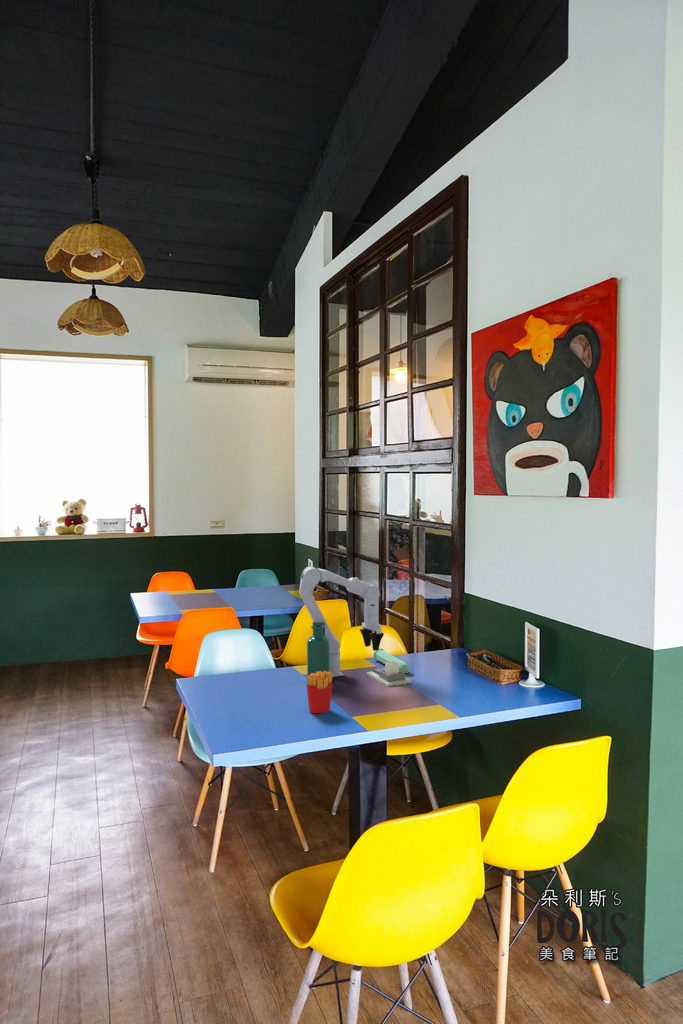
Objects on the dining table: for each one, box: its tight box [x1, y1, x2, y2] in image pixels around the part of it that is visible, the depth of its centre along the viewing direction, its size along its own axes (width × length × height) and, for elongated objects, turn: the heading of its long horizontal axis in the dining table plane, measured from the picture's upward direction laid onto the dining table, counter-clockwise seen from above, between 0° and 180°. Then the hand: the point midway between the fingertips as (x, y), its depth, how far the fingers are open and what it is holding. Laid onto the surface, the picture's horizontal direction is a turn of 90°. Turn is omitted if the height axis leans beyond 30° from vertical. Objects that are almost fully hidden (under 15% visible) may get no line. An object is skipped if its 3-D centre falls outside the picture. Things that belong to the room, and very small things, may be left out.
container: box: [372, 647, 410, 674], centre depth 284 cm, size 6×6×25 cm
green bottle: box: [306, 621, 330, 684], centre depth 263 cm, size 10×8×22 cm
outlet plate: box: [366, 667, 412, 687], centre depth 267 cm, size 10×18×3 cm, turn 23°
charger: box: [384, 661, 399, 675], centre depth 264 cm, size 4×4×6 cm
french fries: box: [306, 671, 334, 714], centre depth 229 cm, size 9×4×13 cm, turn 122°
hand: (371, 648), depth 276 cm, fingers open, 7 cm apart
